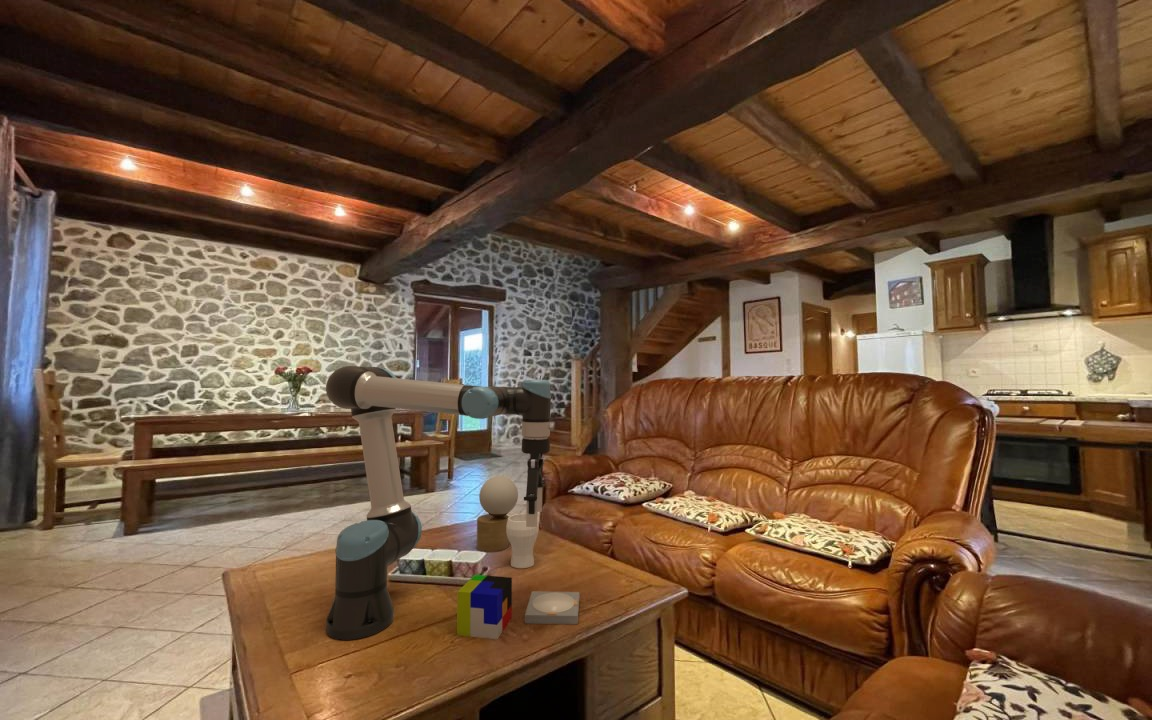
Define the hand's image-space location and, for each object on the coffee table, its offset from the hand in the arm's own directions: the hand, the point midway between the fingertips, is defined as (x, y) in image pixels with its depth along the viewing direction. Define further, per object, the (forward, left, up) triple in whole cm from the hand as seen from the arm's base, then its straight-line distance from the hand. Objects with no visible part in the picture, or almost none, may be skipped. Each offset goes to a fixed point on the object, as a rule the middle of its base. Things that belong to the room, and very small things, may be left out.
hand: (534, 518), depth 121 cm
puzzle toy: (-11, -8, -24) cm, 27 cm away
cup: (-8, +31, -24) cm, 39 cm away
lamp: (-20, +48, -24) cm, 57 cm away
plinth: (+5, 0, -23) cm, 24 cm away
